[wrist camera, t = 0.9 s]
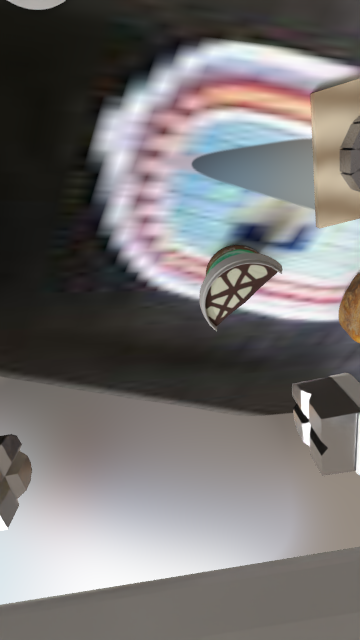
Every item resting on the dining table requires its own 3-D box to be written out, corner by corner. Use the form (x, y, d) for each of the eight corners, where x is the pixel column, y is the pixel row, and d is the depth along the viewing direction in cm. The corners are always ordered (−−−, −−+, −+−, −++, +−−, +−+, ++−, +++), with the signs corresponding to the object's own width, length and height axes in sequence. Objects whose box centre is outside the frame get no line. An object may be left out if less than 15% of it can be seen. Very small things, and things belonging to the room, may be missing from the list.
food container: (239, 218, 44) (251, 236, 35) (267, 246, 46) (285, 270, 37) (181, 277, 48) (180, 306, 40) (209, 300, 50) (213, 333, 42)
